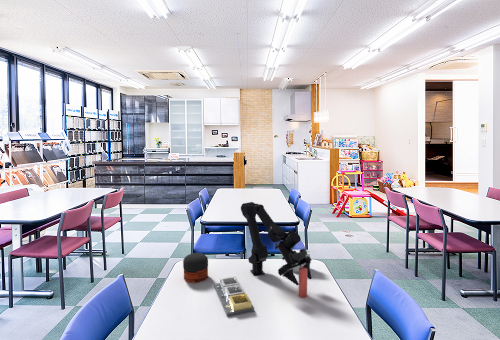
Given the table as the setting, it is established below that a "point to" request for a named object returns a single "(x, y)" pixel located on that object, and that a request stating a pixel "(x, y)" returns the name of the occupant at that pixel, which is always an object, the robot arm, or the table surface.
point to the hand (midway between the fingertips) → (304, 282)
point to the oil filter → (195, 267)
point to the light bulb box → (299, 266)
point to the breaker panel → (233, 297)
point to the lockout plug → (302, 282)
